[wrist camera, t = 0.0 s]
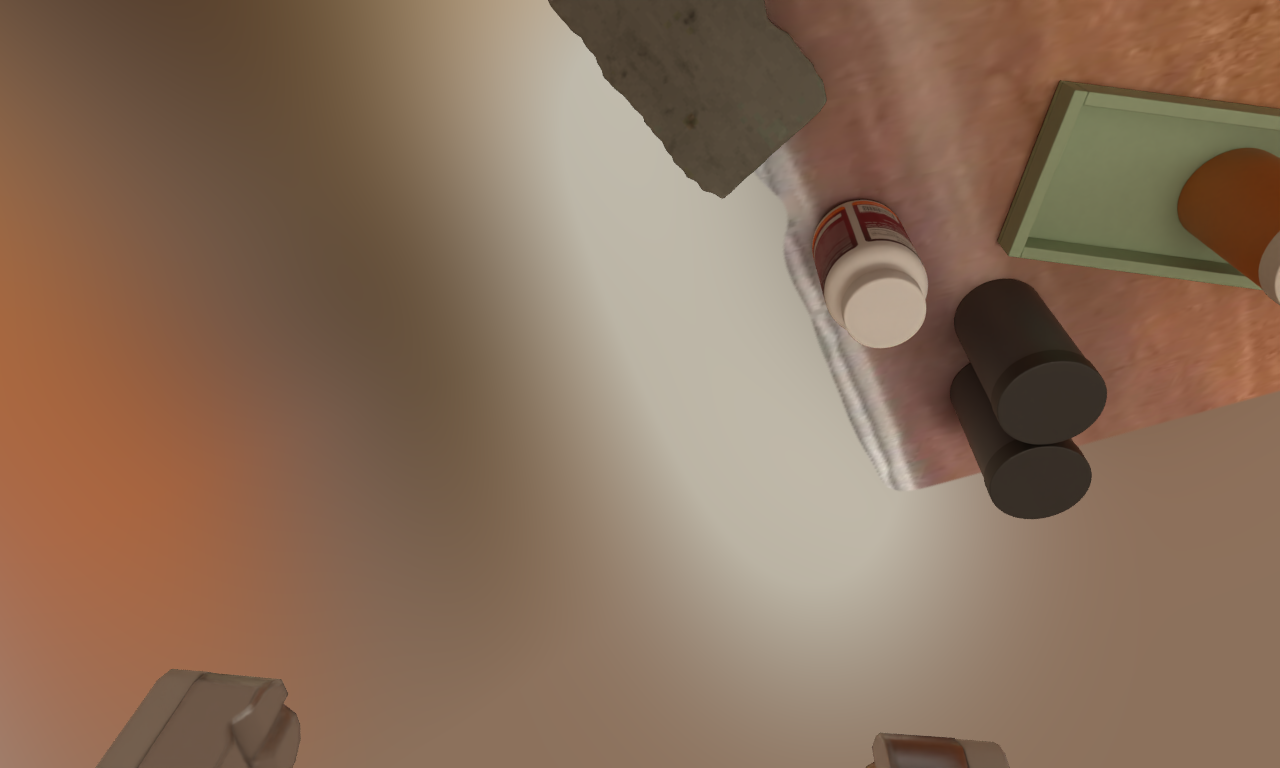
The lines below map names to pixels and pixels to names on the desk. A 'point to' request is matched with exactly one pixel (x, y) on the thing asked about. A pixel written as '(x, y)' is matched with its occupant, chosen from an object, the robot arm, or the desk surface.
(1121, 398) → the desk surface
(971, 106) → the desk surface
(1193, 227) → the bottle
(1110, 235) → the tray
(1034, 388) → the grey canister
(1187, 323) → the desk surface
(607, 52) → the stone slab
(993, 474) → the grey canister
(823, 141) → the desk surface
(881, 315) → the pill bottle
